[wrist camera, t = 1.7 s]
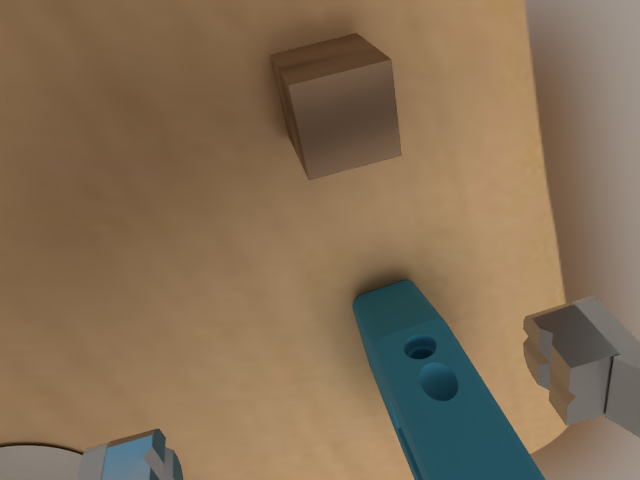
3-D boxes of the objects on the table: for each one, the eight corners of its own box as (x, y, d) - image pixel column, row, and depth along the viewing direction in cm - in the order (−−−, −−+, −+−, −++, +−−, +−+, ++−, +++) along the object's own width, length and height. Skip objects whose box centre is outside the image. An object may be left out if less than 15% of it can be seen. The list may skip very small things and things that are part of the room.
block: (344, 281, 40) (464, 556, 23) (409, 258, 40) (574, 515, 23) (376, 387, 46) (487, 660, 30) (431, 367, 46) (572, 628, 30)
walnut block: (368, 117, 33) (401, 155, 28) (289, 137, 33) (309, 180, 28) (356, 33, 31) (391, 59, 26) (270, 54, 30) (288, 85, 25)
